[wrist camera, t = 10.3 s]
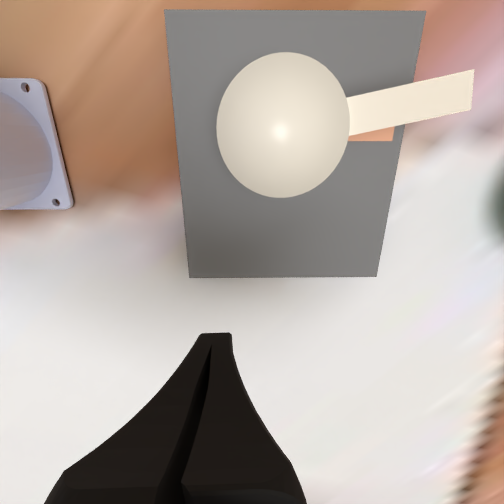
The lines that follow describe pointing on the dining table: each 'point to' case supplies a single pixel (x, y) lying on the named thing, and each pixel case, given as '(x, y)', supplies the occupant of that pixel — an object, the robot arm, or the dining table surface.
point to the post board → (319, 198)
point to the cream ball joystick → (314, 119)
